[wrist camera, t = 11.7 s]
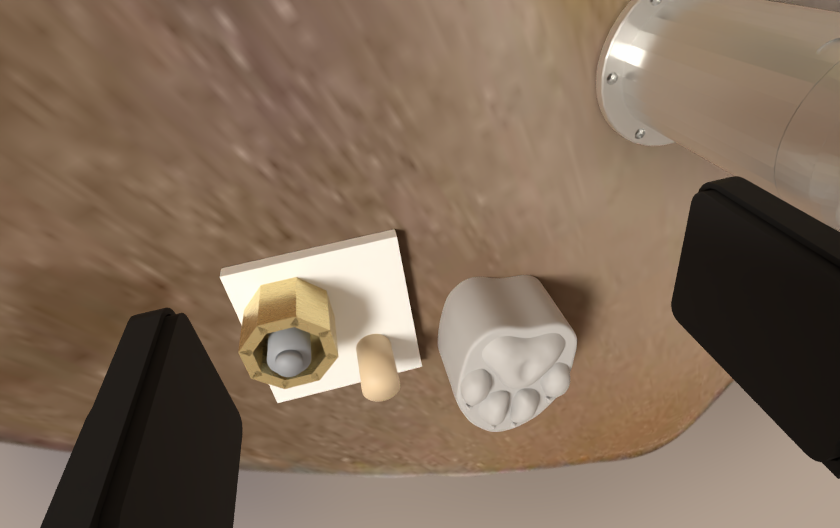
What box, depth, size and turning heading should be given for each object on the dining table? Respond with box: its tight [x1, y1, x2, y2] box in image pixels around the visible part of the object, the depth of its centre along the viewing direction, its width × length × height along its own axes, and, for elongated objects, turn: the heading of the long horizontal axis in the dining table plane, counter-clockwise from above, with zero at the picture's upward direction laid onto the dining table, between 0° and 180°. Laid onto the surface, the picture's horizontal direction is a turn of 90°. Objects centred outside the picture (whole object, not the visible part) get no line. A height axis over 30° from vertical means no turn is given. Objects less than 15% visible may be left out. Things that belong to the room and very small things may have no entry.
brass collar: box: [238, 277, 339, 389], centre depth 40 cm, size 7×7×5 cm
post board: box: [220, 229, 422, 403], centre depth 42 cm, size 14×15×8 cm
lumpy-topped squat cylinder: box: [438, 275, 577, 432], centre depth 46 cm, size 10×13×9 cm
